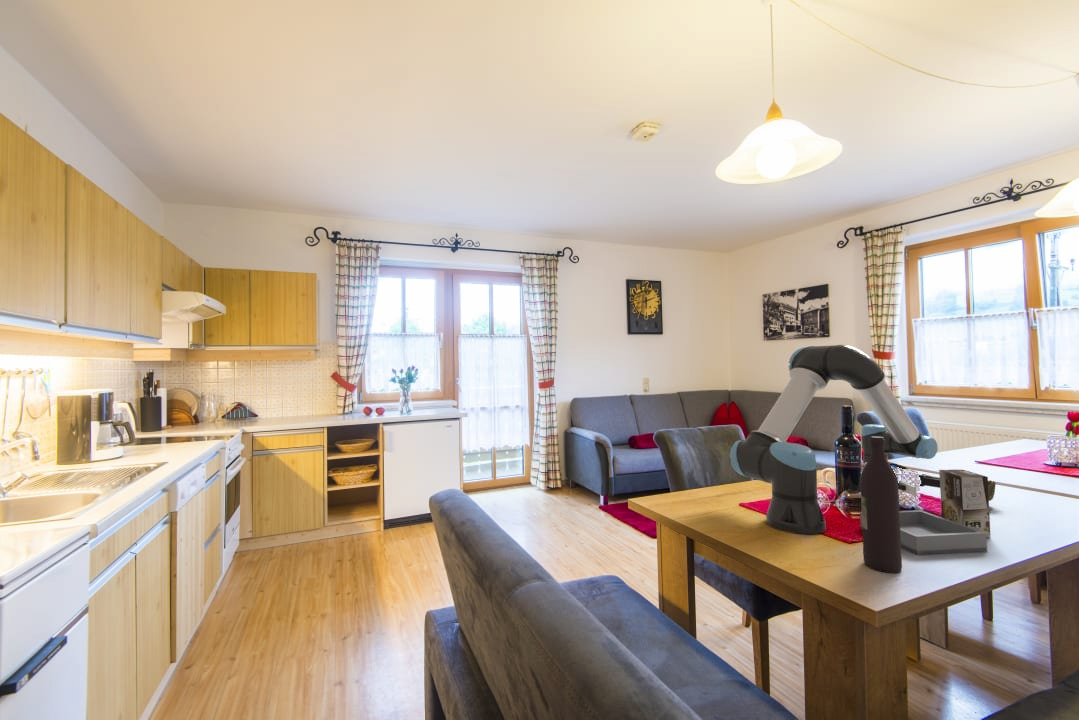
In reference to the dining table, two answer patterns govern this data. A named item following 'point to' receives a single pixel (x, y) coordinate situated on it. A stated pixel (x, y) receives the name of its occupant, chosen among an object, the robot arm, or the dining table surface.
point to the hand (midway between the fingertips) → (940, 491)
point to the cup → (991, 489)
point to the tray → (937, 535)
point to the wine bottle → (880, 512)
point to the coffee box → (965, 499)
